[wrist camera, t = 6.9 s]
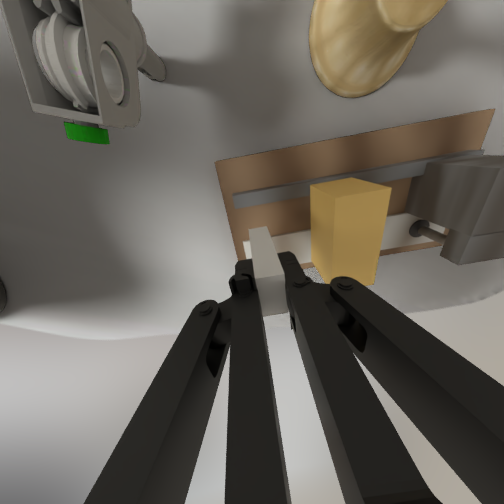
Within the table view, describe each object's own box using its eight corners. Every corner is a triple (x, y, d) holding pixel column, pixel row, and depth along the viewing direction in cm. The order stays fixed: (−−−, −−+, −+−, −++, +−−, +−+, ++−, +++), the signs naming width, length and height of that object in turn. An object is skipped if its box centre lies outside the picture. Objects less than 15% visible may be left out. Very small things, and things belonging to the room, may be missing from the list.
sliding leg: (309, 257, 21) (330, 291, 16) (307, 183, 17) (335, 198, 12) (341, 251, 21) (373, 284, 16) (347, 176, 17) (391, 187, 12)
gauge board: (242, 271, 24) (243, 322, 17) (216, 161, 18) (200, 169, 11) (433, 239, 23) (515, 278, 16) (475, 111, 17) (640, 85, 10)
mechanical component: (173, -28, 12) (11, -452, 4) (176, 147, 17) (110, 146, 8) (125, -42, 12) (-184, -549, 3) (142, 141, 17) (35, 133, 8)
